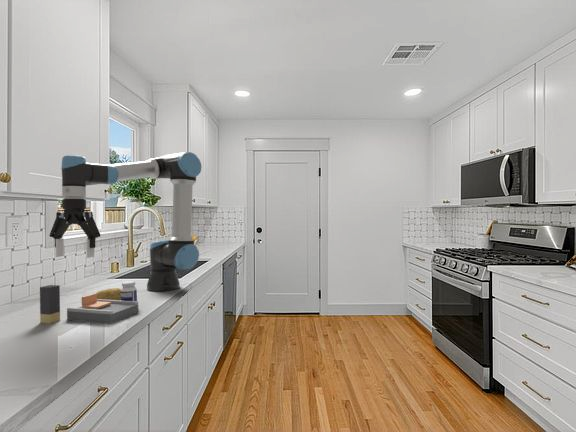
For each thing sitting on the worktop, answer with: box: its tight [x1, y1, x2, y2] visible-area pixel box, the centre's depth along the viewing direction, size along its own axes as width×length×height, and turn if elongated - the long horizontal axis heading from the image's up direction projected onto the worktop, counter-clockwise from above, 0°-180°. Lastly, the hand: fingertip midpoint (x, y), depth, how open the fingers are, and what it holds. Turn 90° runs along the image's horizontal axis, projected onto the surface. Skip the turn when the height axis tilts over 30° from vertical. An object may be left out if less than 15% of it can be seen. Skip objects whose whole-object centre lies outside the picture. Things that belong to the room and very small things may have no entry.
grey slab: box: [66, 299, 139, 324], centre depth 133 cm, size 14×18×4 cm
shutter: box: [81, 292, 111, 309], centre depth 134 cm, size 7×7×4 cm
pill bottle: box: [120, 280, 138, 302], centre depth 145 cm, size 6×6×10 cm
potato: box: [95, 287, 122, 300], centre depth 151 cm, size 7×11×6 cm, turn 118°
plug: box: [39, 284, 61, 325], centre depth 127 cm, size 4×4×12 cm
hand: (75, 256), depth 136 cm, fingers open, 13 cm apart
